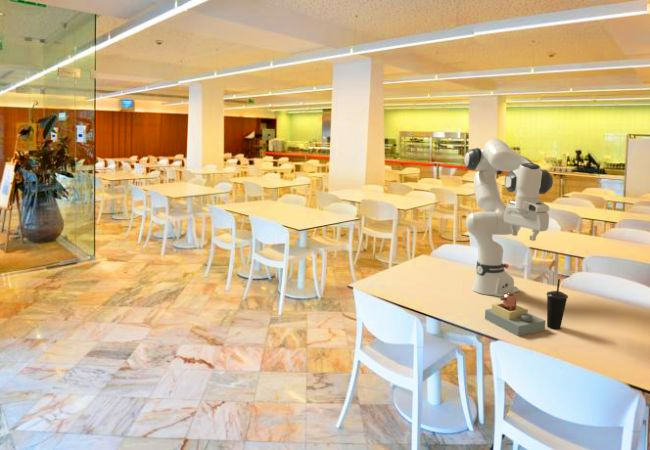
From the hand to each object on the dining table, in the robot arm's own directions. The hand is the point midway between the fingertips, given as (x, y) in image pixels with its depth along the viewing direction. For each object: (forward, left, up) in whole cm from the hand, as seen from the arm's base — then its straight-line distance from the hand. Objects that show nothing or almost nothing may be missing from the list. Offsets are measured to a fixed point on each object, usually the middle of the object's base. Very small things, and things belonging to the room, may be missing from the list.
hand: (523, 237), depth 194 cm
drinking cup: (-6, +14, -34) cm, 38 cm away
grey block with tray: (+7, +6, -34) cm, 35 cm away
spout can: (+8, +4, -30) cm, 31 cm away
